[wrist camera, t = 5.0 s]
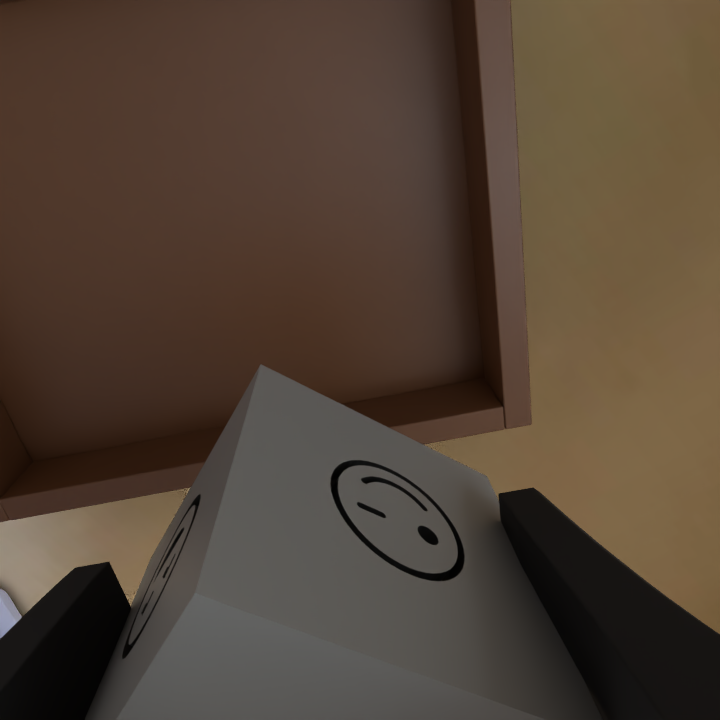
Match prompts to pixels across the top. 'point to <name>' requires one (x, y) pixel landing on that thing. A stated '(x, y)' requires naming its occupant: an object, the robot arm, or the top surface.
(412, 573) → the dice cube
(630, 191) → the top surface
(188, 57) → the tray
